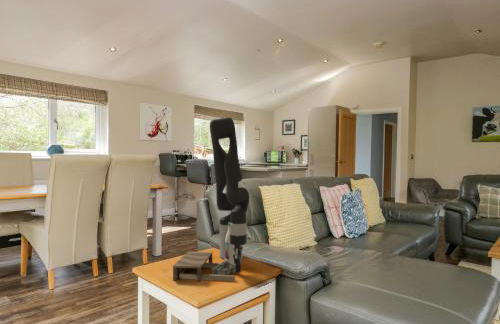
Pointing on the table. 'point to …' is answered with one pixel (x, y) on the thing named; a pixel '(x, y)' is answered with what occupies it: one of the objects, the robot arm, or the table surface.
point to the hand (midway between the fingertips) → (238, 271)
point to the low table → (198, 267)
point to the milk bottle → (229, 247)
